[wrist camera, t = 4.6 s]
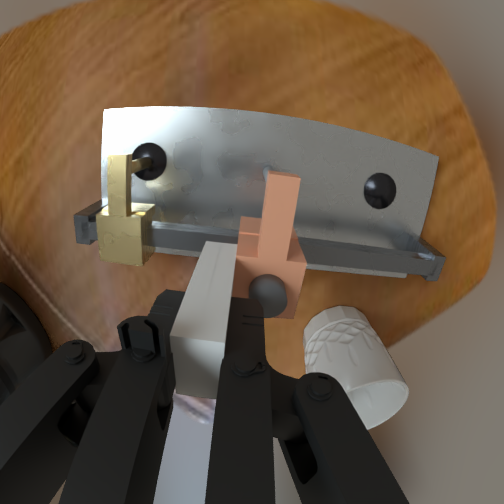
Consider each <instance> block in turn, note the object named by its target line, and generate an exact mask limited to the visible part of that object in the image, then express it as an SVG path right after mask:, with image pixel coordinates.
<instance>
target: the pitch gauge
mask: <svg viewBox="0 0 504 504" xmlns="http://www.w3.org/2000/svg"><path fill="white" fill-rule="evenodd" d="M438 160H439V157H438V156H435V155H433V154H430V153H427V152H425V151H422V150H419V149H416V148H413V147H410V146H408V145H405V144H402V143H398V142H395V141H392V140H389V139H386V138H382V137H379V136H375V135H372V134H368V133H364V132H361V131H357V130H353V129H349V128H345V127H340V126H336V125H332V124H327V123H322V122H317V121H312V120H307V119H301V118H296V117H290V116H283V115H277V114H269V113H262V112H253V111H244V110H233V109H221V108H204V107H134V108H117V109H105V110H104V119H103V134H102V161H101V186H102V199H101V200H99V201H97V202H96V203H94V204H92V205H90V206H88V207H87V208H85V209H83V210H81V211H80V212H78V213H76V214H75V215H74V224H75V233H76V241H77V243H80V244H88V245H91V244H92V243H93V242H94V241H96V240H98V246H99V255H100V261H107V262H114V263H121V264H128V265H136V266H143V265H144V264H145V262H147V261H148V260H149V258H150V257H151V256H152V254H153V253H154V252H159V253H167V254H176V255H184V256H193V257H200V255H201V252H202V250H203V247H204V245H205V243H206V241H211V242H220V243H229V244H238V236H239V228H240V220H241V216H244V217H253V218H262V211H263V204H264V197H265V189H266V182H265V178H264V175H263V170H264V168H265V167H268V166H271V167H273V168H274V170H275V171H277V172H285V173H291V174H297V175H298V176H299V177H300V178H301V180H300V187H299V193H298V199H297V204H296V210H295V216H294V222H293V227H294V229H295V232H296V234H297V237H298V242H299V244H300V247H301V249H302V252H303V254H304V257H305V259H306V262H307V265H306V269H315V270H325V271H335V272H346V273H356V274H366V275H377V276H388V277H399V278H406V276H407V274H416V275H421V276H422V277H423V278H424V279H425V280H427V281H437V280H438V278H439V275H440V272H441V270H442V267H443V265H444V262H445V259H446V257H445V256H444V255H442V254H441V253H440V252H439V251H438V250H436V249H435V248H434V247H432V246H431V245H430V244H429V243H427V242H426V241H425V240H424V239H422V238H421V237H420V234H421V231H422V228H423V224H424V221H425V217H426V213H427V210H428V206H429V202H430V198H431V194H432V189H433V185H434V180H435V175H436V170H437V165H438Z"/></svg>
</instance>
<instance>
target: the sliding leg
mask: <svg viewBox="0 0 504 504" xmlns="http://www.w3.org/2000/svg"><path fill="white" fill-rule="evenodd" d="M263 175H264V178H265V182H266V189H265V197H264V204H263V211H262V218H253V217H244V216H241V220H240V228H239V236H238V244H237V252H236V261H235V271H234V281H233V291H232V297H239V298H249V299H258V301H259V302H260V304H261V305H262V307H263V313H264V318H272V317H274V318H287V319H294V315H295V311H296V307H297V303H298V299H299V295H300V291H301V286H302V282H303V278H304V274H305V269H306V265H307V262H306V259H305V257H304V254H303V252H302V249H301V247H300V244H299V242H298V237H297V234H296V232H295V229H294V227H293V222H294V216H295V210H296V204H297V199H298V193H299V187H300V180H301V178H300V177H299V176H298V175H297V174H291V173H285V172H277V171H275V170H274V168H273V167H271V166H268V167H265V168H264V170H263Z"/></svg>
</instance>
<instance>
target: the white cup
mask: <svg viewBox="0 0 504 504" xmlns="http://www.w3.org/2000/svg"><path fill="white" fill-rule="evenodd" d="M303 346H304V352H305V367H306V374H308V373H311V372H321V373H325V374H328V375H330V376H332V377H334V378H335V379H336V380H337V381H338V382H339V383H340V384H341V386H342V387H343V389H344V391H345V392H346V394H347V396H348V398H349V399H350V401H351V403H352V404H353V406H354V408H355V410H356V411H357V413H358V415H359V416H360V418H361V420H362V422H363V423H364V425H365V427H366V429H367V430H369V429H371V428H373V427H376V426H378V425H379V424H381V423H383V422H385V421H386V420H388V419H389V418H391V417H392V416H393V415H394V414H396V413H397V412H398V411H399V410H400V409H401V408H402V406H403V405H404V404H405V402H406V400H407V398H408V395H409V388H408V386H407V384H406V383H405V381H404V379H403V377H402V375H401V373H400V372H399V370H398V368H397V366H396V365H395V363H394V361H393V359H392V357H391V356H390V354H389V352H388V351H387V349H386V347H385V346H384V344H383V343H382V342H381V340H380V338H379V336H378V335H377V333H376V332H375V331H374V330H373V328H372V327H371V325H370V324H369V322H368V320H367V318H366V317H365V315H364V314H363V313H362V312H360V311H359V310H357V309H356V308H355V307H349V306H336V307H332V308H329V309H325V310H323V311H322V312H320V313H319V314H317V315H316V316H314V317H313V318H312V319H311V320H310V322H309V323H308V325H307V326H306V328H305V329H304V335H303Z"/></svg>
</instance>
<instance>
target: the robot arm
mask: <svg viewBox="0 0 504 504" xmlns="http://www.w3.org/2000/svg"><path fill="white" fill-rule="evenodd" d="M236 252H237V244H229V243H220V242H211V241H206V243H205V245H204V247H203V250H202V252H201V255H200V257H199V260H198V262H197V265H196V267H195V270H194V272H193V275H192V277H191V280H190V282H189V285H188V287H187V290H186V292H181V291H174V290H165V291H164V292H162V293H161V294H160V295H158V296H157V298H156V300H155V302H154V304H153V306H152V308H151V310H150V313H149V314H148V316H135V317H130V318H128V319H126V320H124V321H122V322H121V323H120V324H119V325H118V326H117V329H118V333H119V338H120V342H121V346H122V350H120V351H116V352H95V350H94V348H93V346H92V345H91V344H90V343H88V342H86V341H83V340H72V341H68V342H66V343H64V344H63V345H61V346H60V347H59V348H58V349H57V350H56V351H55V352H54V353H53V354H52V348H51V344H50V342H49V339H48V337H47V335H46V333H45V331H44V329H43V327H42V325H41V324H40V322H39V321H38V319H37V318H36V316H35V315H34V313H33V312H32V311H31V310H30V308H29V307H28V306H27V305H26V303H25V302H24V301H23V300H22V299H21V298H20V297H19V296H18V295H17V294H16V293H15V292H14V291H12V290H11V289H10V288H9V287H7V286H6V285H4V284H2V283H0V504H49V503H50V502H51V500H52V498H53V497H54V496H55V494H56V493H57V491H58V490H59V488H60V487H61V486H62V484H63V483H64V481H65V480H66V482H65V485H64V488H63V491H62V494H61V498H60V501H59V504H153V501H154V496H155V490H156V485H157V479H158V475H159V470H160V465H161V460H162V455H163V450H164V446H165V441H166V437H167V432H168V428H169V423H170V419H171V415H172V411H173V398H172V396H173V392H174V389H176V394H182V395H188V396H194V397H201V398H209V399H216V407H215V415H214V424H213V432H212V441H211V450H210V460H209V469H208V478H207V488H206V498H205V504H275V481H274V456H273V455H274V454H273V437H275V438H278V441H279V443H280V446H281V449H282V452H283V454H284V457H285V460H286V463H287V465H288V468H289V471H290V473H291V476H292V479H293V481H294V484H295V487H296V489H297V492H298V494H299V497H300V500H301V502H302V504H409V502H408V500H407V499H406V497H405V495H404V493H403V491H402V490H401V488H400V486H399V484H398V483H397V481H396V479H395V477H394V476H393V474H392V472H391V470H390V469H389V467H388V465H387V463H386V462H385V460H384V458H383V457H382V455H381V453H380V451H379V449H378V448H377V446H376V444H375V443H374V441H373V439H372V437H371V435H370V434H369V432H368V430H367V429H366V427H365V425H364V423H363V422H362V420H361V418H360V416H359V415H358V413H357V411H356V410H355V408H354V406H353V404H352V403H351V401H350V399H349V398H348V396H347V394H346V392H345V391H344V389H343V387H342V386H341V384H340V383H339V382H338V381H337V380H336V379H335V378H334V377H332V376H330V375H328V374H325V373H321V372H311V373H308V374H305V375H303V376H302V377H301V378H300V379H296V378H292V377H289V376H286V375H283V374H281V373H279V372H277V371H276V370H274V369H273V368H272V367H271V366H270V365H269V363H268V362H267V360H266V355H265V334H264V313H263V307H262V305H261V304H260V302H259V301H258V299H249V298H239V297H232V291H233V281H234V271H235V261H236Z"/></svg>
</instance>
